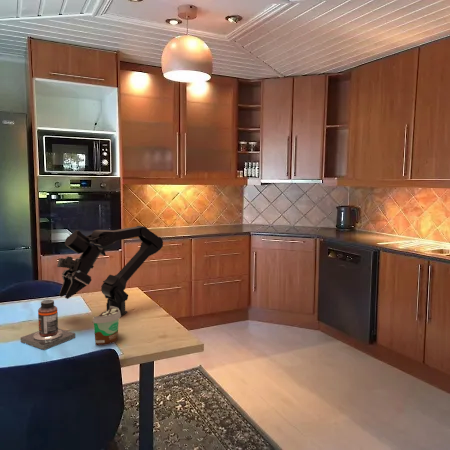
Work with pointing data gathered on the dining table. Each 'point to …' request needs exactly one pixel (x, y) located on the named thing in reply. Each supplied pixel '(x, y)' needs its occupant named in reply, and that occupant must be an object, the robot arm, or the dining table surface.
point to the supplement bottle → (48, 318)
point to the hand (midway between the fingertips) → (63, 297)
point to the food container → (106, 326)
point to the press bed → (47, 339)
